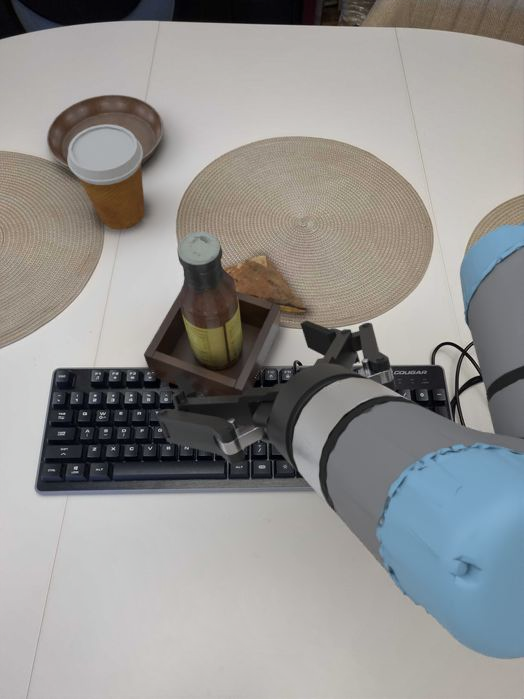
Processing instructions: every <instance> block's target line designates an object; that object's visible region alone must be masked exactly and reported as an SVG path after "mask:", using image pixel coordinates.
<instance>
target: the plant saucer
mask: <svg viewBox="0 0 524 699" xmlns="http://www.w3.org/2000/svg"><path fill="white" fill-rule="evenodd" d="M163 123H164V122H163V120H162V117H161V115H160V113H159V112H158V111H157V110H156V109H155V107H153V106H152V105H151V104H149V103H148V102H146V101H144V100H142V99H139V98H137V97H133V96H130V95H123V94H103V95H97V96H92V97H88V98H85V99H82V100H80V101H77V102H75V103H73V104H72V105H70V106H68V107H67V108H65V109H64V110H62V111H61V112H60V113H58V115H57V116H56V117H55V118H54V120H53V121H52V122H51V124H50V126H49V127H48V131H47V134H46V143H47V144H46V145H47V148H48V150H49V152H50V154H51V155H52V156H53V157H54V159H56V161H58V162H59V163H60V164H61V165H63V166H64V167H66V168H68V169H70V168H69V165H68V161H67V158H68V148H69V145H70V142H71V141H72V139H73V138H74V137H75V136H76V135H77V134H79V133H80V132H82V131H83V130H85V129H88V128H90V127H93V126H98V125H117V126H120V127H123V128H125V129H127V130H129V131H130V132H131V133H132V134H133V135H134V136H135V138H136V139H137V140H138V141H139V143H140V144H141V146H142V150H143V157H142V161H141V165H143V164H144V163H145V162H146V161H147V160H148V159H149V158H150V157H151V156H152V155H153V154H154V152H155V151H156V150H157V147H158V146H159V144H160V143H161V139H162V138H163V137H162V136H163V133H164V124H163Z"/></svg>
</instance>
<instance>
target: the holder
mask: <svg viewBox="0 0 524 699" xmlns="http://www.w3.org/2000/svg"><path fill="white" fill-rule="evenodd" d="M180 292H181V290H180V291H179V293H178V294H177V295H176V298H175V300H173V303H172V305H171V307H170V308H169V310H168V312H167V314H166V315H165V317H164V318H163V320H162V322H161V324H160V326H159V327H158V329H157V331H156V332H155V334H154V335H153V338H152V339H151V341H150V343H149V345H148V346H147V348H146V350H145V351H144V353H143V358H144V360H145V362H146V365H147V368H148V370H149V372H150V376H152V377H154V378H157V379H159V380H161V381H164V382H167V383H170V384H173V385H175V386H178V385H177V382H176V380H175V377H174V375H177V374H179V373H182V374H183V376H184V377H185V379H186V380H187V381H188V383H189V384H190V385H191V387H192V388H193V389H194V391H195V393H196V394H199V395H203V396H204V397H211V396H230V395H243V394H244V393H245V392H246V391H247V390H248V389H251V388H254V387H255V384H256V382H257V379H258V378H259V375H260V373H261V371H262V368H263V367H264V365H265V362H266V359H267V357H268V355H269V354H270V351H271V348H272V347H273V344H274V343H275V339H276V337H277V335H278V333H279V330H280V325H281V311H282V310H281V306H280V305H277V304H273V303H271V302H268V301H265V300H262V299H259V298H256V297H253V296H250V295H247V294H244V293H241V292H238V291H236V293H237V296H238V301H239V310H240V320H241V328H242V337H243V346H242V347H243V350H242V353H241V355H240V357H239V359H238V361H237V362H236V363H235V364H234V365H232V366H231V367H229V368H225V369H220V370H212V369H209V368H208V367H205V366H204V365H202V364H201V363H200V362H199V361H198V360H197V359H196V357H195V355H194V353H193V351H192V347H191V344H190V340H189V337H188V334H187V330H186V327H185V323H184V319H183V315H182V311H181V308H180ZM258 371H259V372H258ZM152 372H154V373H152ZM155 373H156V374H155ZM257 373H258V374H257ZM256 375H257V376H256ZM255 377H256V378H255Z"/></svg>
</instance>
